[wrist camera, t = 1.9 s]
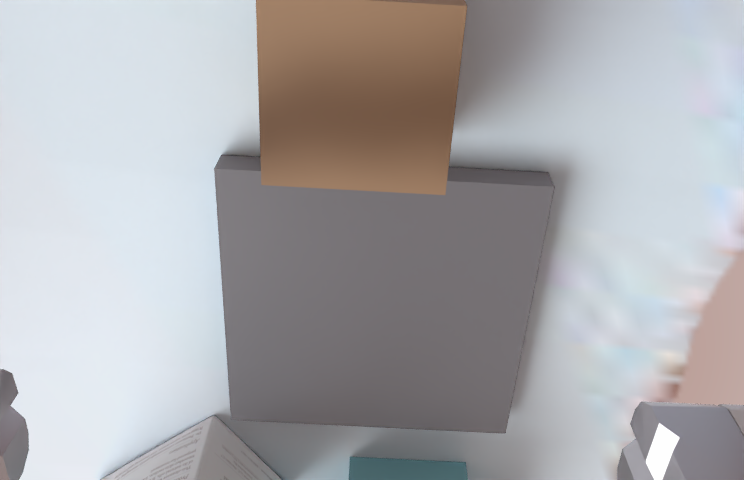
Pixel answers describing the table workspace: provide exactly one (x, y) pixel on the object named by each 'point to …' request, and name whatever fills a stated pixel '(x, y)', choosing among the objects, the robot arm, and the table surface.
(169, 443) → the skincare box
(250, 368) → the baseplate
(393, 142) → the walnut brick
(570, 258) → the table surface
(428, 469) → the teal block
